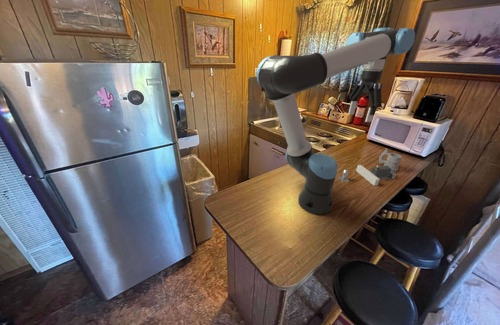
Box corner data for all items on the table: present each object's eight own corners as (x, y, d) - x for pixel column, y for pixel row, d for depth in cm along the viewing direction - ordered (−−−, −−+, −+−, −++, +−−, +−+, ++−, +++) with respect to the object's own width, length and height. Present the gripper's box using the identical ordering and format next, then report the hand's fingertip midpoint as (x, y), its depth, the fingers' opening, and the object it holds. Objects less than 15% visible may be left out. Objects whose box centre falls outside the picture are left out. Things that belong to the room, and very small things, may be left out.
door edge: (374, 185, 106) (376, 179, 104) (355, 170, 120) (357, 165, 118) (377, 185, 106) (379, 179, 105) (358, 170, 120) (360, 164, 118)
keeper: (371, 180, 111) (373, 175, 109) (364, 174, 116) (366, 170, 115) (394, 178, 113) (396, 174, 111) (386, 173, 118) (388, 169, 117)
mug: (393, 173, 118) (400, 155, 112) (373, 165, 127) (379, 148, 121) (399, 170, 121) (407, 153, 115) (380, 162, 130) (386, 146, 124)
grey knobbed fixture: (342, 181, 109) (345, 172, 106) (337, 177, 113) (340, 168, 111) (349, 181, 110) (352, 172, 107) (344, 176, 114) (346, 167, 111)
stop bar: (383, 174, 116) (387, 163, 113) (387, 177, 113) (392, 166, 110) (369, 175, 115) (373, 164, 112) (373, 178, 112) (377, 167, 109)
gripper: (348, 68, 97) (338, 111, 107) (385, 72, 75) (369, 125, 85) (362, 68, 98) (351, 111, 108) (403, 72, 76) (384, 125, 86)
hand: (359, 117), depth 97 cm, fingers open, 13 cm apart
